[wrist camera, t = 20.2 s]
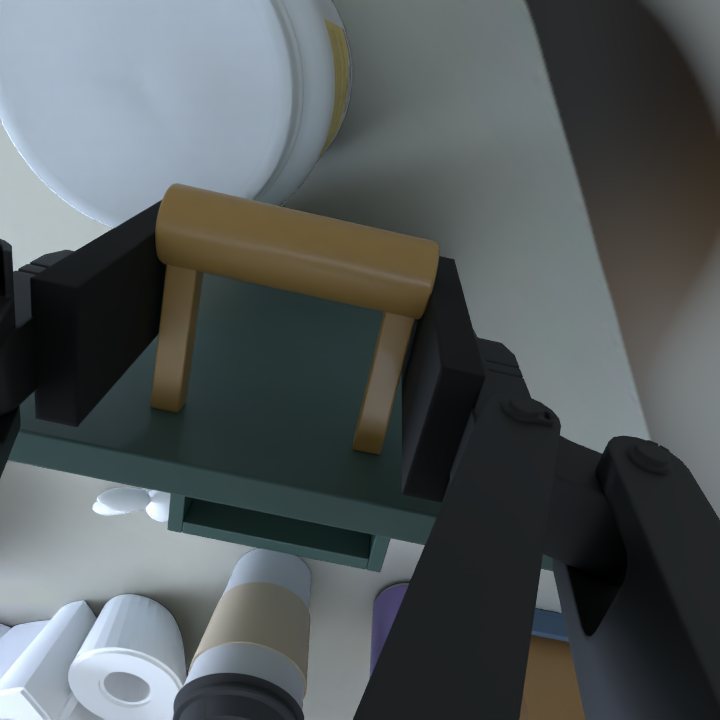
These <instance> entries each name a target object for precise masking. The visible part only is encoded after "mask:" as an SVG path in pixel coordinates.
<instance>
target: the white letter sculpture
mask: <svg viewBox="0 0 720 720" xmlns="http://www.w3.org/2000/svg"><path fill="white" fill-rule="evenodd" d="M186 679H187V676H186V666H185V655H184V646H183V640H182V636H181V633H180V630H179V627H178V625H177V623H176V621H175V619H174V617H173V616H172V615H171V613H170V612H169V611H168V610H167V609H166V608H165V607H163V606H162V605H161V604H159V603H158V602H156V601H154V600H152V599H150V598H147V597H144V596H140V595H134V594H124V595H120V596H116V597H114V598H112V599H110V600H109V601H108V602H107V603H106V604H105V606H104V607H103V609H102V611H101V613H100V614H99V616H98V618H97V617H96V616H95V615H94V613H93V612H92V610H91V609H90V608H89V606H88V605H87V603H86V602H85V601H84V600H82V601H76V602H72V603H69V604H67V605H65V606H63V607H62V608H61V609H59V611H58V612H57V613H56V614H55V615H54V617H53V618H52V619H51V620H44V621H35V622H29V623H24V624H19V625H15V626H14V627H13V628H10V627H8V626H5V625H3V624H0V720H173V714H174V711H173V704H174V700H175V697H176V695H177V693H178V692H179V691H180V689H181V688H182V687H183V686H184V684H185V682H186Z"/></svg>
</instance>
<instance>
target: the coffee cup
mask: <svg viewBox="0 0 720 720" xmlns="http://www.w3.org/2000/svg"><path fill="white" fill-rule="evenodd" d="M310 591H311V573H310V571H309V568H308V567H307V565H306V564H305V562H304V561H303V560H302V559H301V558H299V557H298V556H296V555H291V554H286V553H281V552H276V551H271V550H266V549H261V548H259V549H255V550H252V551H250V552H248V553H246V554H245V555H243V556H242V557H241V558H240V559H239V561H238V562H237V564H236V566H235V568H234V571H233V573H232V575H231V578H230V580H229V582H228V584H227V587H226V589H225V591H224V594H223V596H222V597H221V599H220V600H219V602H218V604H217V607H216V609H215V611H214V613H213V615H212V618H211V620H210V622H209V624H208V627H207V629H206V631H205V633H204V635H203V638H202V640H201V642H200V644H199V647H198V649H197V651H196V653H195V655H194V658H193V660H192V662H191V664H190V667H189V672H188V677H187V679H186V682H185V684H184V686H183V687H182V688H181V689H180V691H179V692H178V693H177V695H176V697H175V700H174V704H173V711H174V714H173V720H304V715H303V712H302V707H303V699H304V697H305V694H306V686H307V669H308V651H309V633H310V614H309V606H310Z"/></svg>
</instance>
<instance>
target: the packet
mask: <svg viewBox="0 0 720 720" xmlns="http://www.w3.org/2000/svg"><path fill="white" fill-rule="evenodd" d="M519 720H586V719H585V714H584V710H583V705H582V701H581V696H580V691H579V687H578V682H577V678H576V673H575V668H574V664H573V659H572V655H571V650H570V645H569V642H566V641H561V640H556V639H551V638H546V637H541V636H535V635H531V641H530V648H529V655H528V662H527V669H526V676H525V683H524V690H523V697H522V704H521V711H520V718H519Z"/></svg>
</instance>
